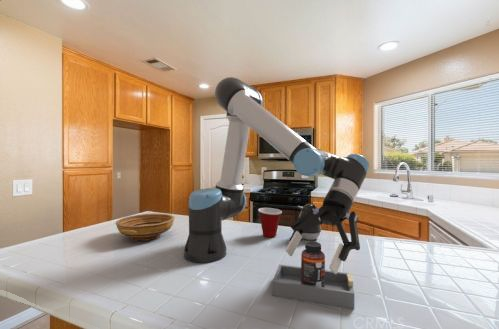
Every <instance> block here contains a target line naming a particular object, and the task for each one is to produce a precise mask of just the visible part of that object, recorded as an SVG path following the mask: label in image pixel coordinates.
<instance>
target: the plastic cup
mask: <svg viewBox="0 0 499 329" xmlns="http://www.w3.org/2000/svg"><path fill="white" fill-rule="evenodd" d="M282 213H283V211H282V210H280V209H278V208H272V207H260V208H258V214H259V218H260V224H261V230H262V235H263V237H264V238H267V239H272V238H273V239H274V238H276V237H277V234H278V226H279V222H280V217H281V214H282Z"/></svg>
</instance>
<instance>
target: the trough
mask: <svg viewBox="0 0 499 329" xmlns="http://www.w3.org/2000/svg"><path fill="white" fill-rule="evenodd" d="M272 296H275V297H280V298H286V299H293V300H298V301H305V302H310V303H317V304H321V305H329V306H335V307H343V308H348V309H353V310H354V309H355V291H354V279H353V276H352V274H350V273H349V272H343V271H341V272H340V271H337V274H334V273H333V272H332V271H331V270H327V269H326V270H325V285H324V287H318V286H311V285H304V284H301V266H293V265H284V264H279V265H278V267H277V269H276V272H275V274H274V277H273V280H272Z"/></svg>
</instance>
